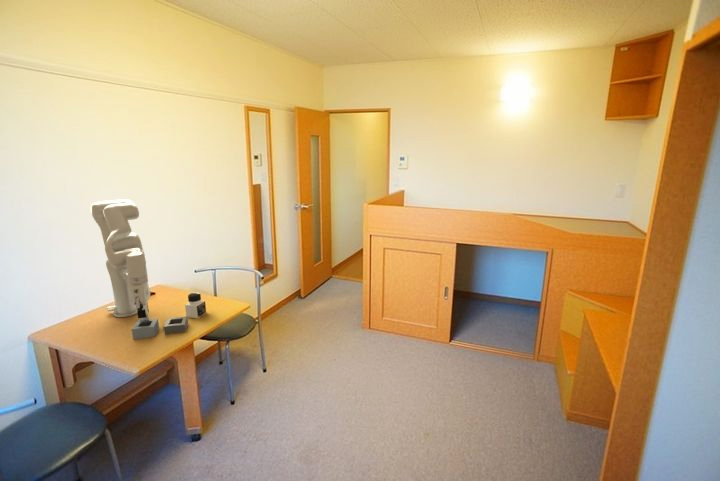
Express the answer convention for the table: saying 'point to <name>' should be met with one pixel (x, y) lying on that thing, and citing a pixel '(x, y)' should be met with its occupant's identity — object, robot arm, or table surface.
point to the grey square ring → (176, 325)
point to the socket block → (145, 329)
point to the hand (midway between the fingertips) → (143, 315)
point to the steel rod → (145, 320)
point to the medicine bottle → (195, 306)
